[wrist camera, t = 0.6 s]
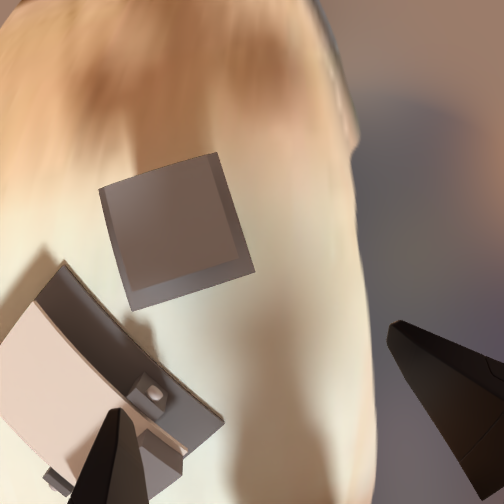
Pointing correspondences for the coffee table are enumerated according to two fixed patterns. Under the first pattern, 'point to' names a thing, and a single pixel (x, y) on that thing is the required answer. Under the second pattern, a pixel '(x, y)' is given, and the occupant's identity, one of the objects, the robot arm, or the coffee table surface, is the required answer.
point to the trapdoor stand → (122, 367)
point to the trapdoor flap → (71, 403)
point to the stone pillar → (174, 231)
